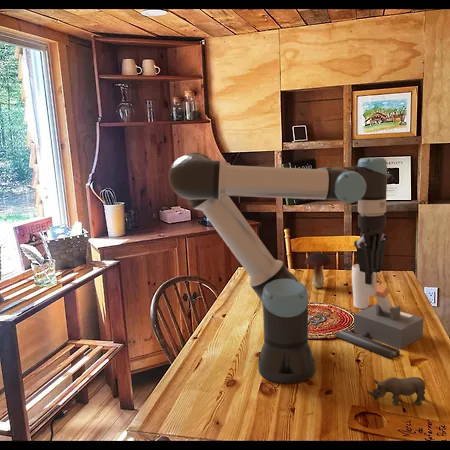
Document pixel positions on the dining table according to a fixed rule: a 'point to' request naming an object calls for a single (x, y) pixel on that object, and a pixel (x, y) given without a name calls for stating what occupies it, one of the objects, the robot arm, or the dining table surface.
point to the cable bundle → (368, 343)
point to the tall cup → (359, 288)
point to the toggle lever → (383, 299)
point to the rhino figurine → (400, 388)
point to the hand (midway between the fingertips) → (370, 293)
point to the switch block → (389, 326)
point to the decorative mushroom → (318, 267)
